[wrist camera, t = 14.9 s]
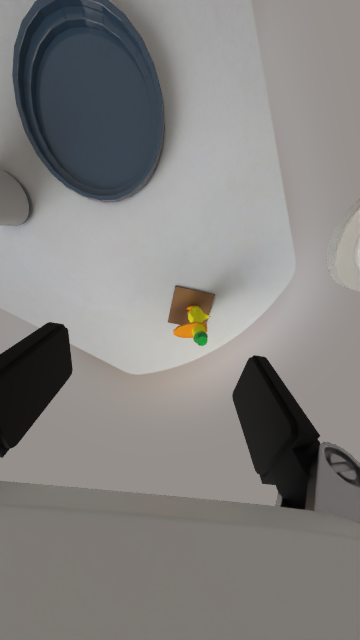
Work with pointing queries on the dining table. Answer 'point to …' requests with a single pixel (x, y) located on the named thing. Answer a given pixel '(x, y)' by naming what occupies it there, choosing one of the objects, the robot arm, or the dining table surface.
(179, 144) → the dining table surface
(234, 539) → the robot arm
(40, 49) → the plate
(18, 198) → the can
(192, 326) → the toy figure
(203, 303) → the coaster
